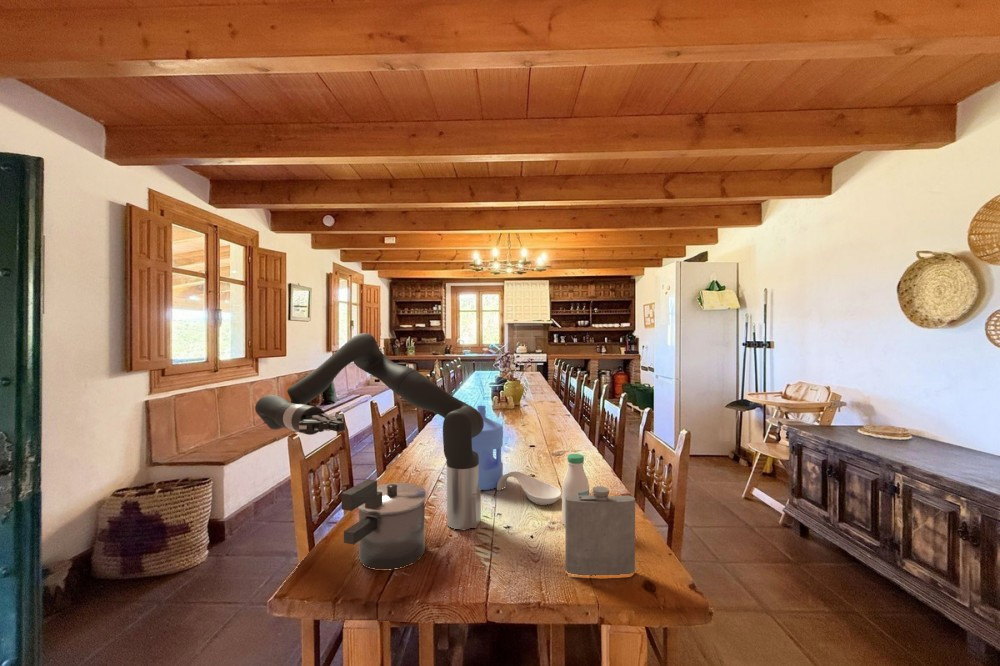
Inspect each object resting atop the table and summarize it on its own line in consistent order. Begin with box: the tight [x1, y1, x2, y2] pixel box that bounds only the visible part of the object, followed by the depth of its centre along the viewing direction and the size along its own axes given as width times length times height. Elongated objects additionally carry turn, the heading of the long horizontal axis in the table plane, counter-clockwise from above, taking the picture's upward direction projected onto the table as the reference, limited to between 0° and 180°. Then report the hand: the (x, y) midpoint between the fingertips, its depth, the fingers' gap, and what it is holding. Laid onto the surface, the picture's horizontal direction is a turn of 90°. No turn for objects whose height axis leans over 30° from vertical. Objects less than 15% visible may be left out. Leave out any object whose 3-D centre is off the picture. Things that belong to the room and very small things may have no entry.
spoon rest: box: [496, 471, 562, 506], centre depth 144 cm, size 24×12×7 cm, turn 53°
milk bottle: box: [561, 453, 590, 526], centre depth 124 cm, size 8×8×20 cm
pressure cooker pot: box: [343, 502, 426, 569], centre depth 105 cm, size 24×16×13 cm, turn 159°
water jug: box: [472, 405, 504, 491], centre depth 157 cm, size 16×16×28 cm
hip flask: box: [564, 486, 636, 576], centre depth 99 cm, size 16×4×20 cm, turn 90°
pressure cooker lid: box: [341, 478, 427, 515], centre depth 104 cm, size 25×17×8 cm, turn 160°
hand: (342, 427), depth 108 cm, fingers closed
